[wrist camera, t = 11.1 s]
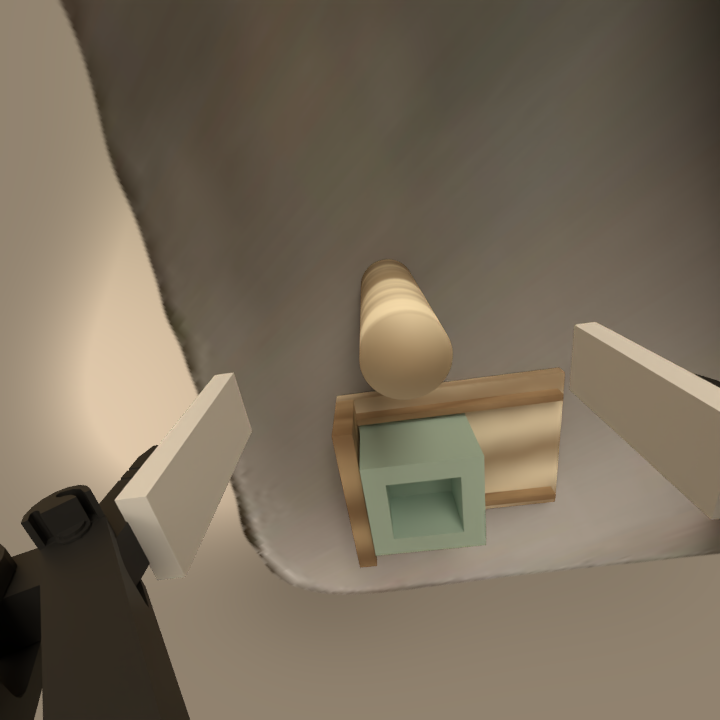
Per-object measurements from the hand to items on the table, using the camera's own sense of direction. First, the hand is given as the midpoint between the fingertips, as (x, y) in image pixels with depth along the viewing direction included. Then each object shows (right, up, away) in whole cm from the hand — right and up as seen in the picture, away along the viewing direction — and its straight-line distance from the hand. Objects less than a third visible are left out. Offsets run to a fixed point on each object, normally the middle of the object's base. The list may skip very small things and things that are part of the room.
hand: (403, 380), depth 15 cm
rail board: (+7, -7, +20) cm, 23 cm away
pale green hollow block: (+3, -8, +20) cm, 22 cm away
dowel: (0, +6, +14) cm, 16 cm away
